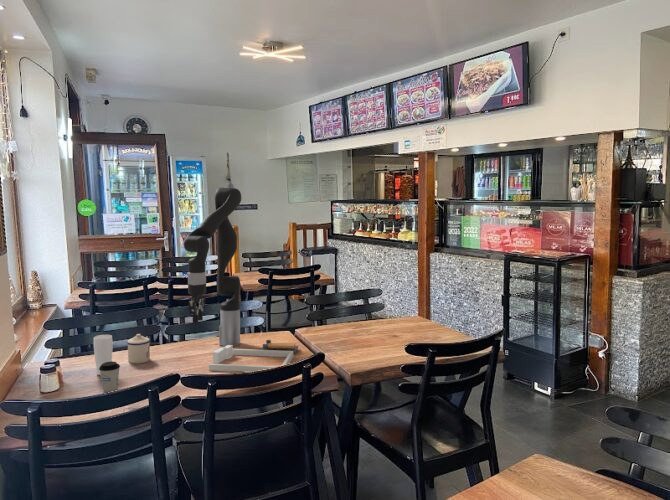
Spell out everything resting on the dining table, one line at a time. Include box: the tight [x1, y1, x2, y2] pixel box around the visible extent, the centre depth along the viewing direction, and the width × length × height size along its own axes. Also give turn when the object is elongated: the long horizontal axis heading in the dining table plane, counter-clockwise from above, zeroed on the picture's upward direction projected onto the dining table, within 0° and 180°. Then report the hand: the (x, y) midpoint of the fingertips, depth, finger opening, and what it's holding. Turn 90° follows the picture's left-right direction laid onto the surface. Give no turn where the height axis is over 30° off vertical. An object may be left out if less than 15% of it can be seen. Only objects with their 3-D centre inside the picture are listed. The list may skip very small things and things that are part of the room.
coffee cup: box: [99, 360, 121, 394], centre depth 175 cm, size 7×7×10 cm
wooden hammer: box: [267, 342, 297, 348], centre depth 224 cm, size 14×5×1 cm, turn 84°
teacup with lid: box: [127, 333, 151, 365], centre depth 209 cm, size 12×9×12 cm
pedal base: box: [260, 339, 299, 356], centre depth 224 cm, size 16×8×4 cm, turn 84°
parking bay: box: [208, 348, 294, 372], centre depth 207 cm, size 31×22×2 cm
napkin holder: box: [212, 345, 234, 364], centre depth 212 cm, size 15×11×6 cm
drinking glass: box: [93, 334, 114, 376], centre depth 192 cm, size 7×7×15 cm
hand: (197, 321), depth 208 cm, fingers open, 4 cm apart
